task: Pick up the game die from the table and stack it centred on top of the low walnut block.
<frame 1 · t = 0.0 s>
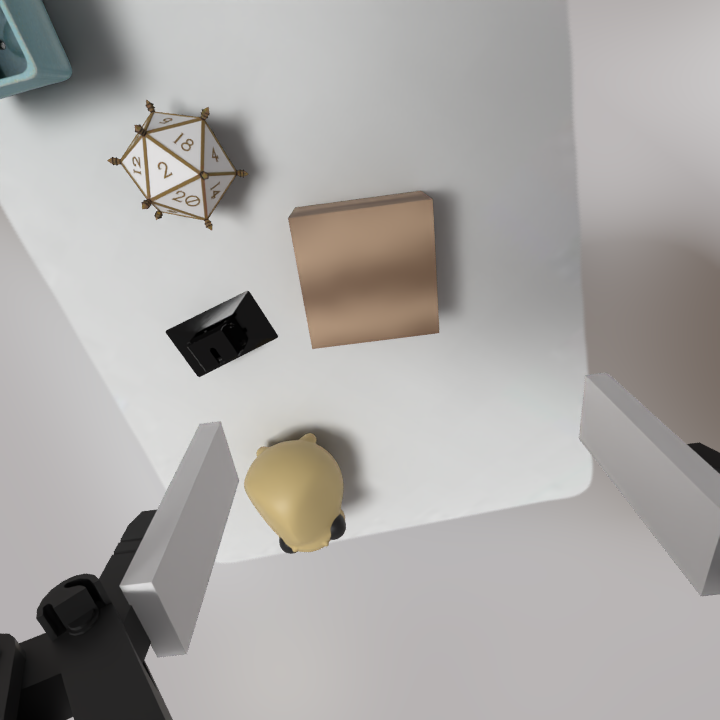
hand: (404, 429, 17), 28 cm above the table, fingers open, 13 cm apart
toy pig: (302, 462, 52), on the table
flower pot: (26, 38, 34), on the table
black angular block: (225, 331, 46), on the table
game die: (196, 164, 38), on the table
walnut block: (365, 260, 42), on the table
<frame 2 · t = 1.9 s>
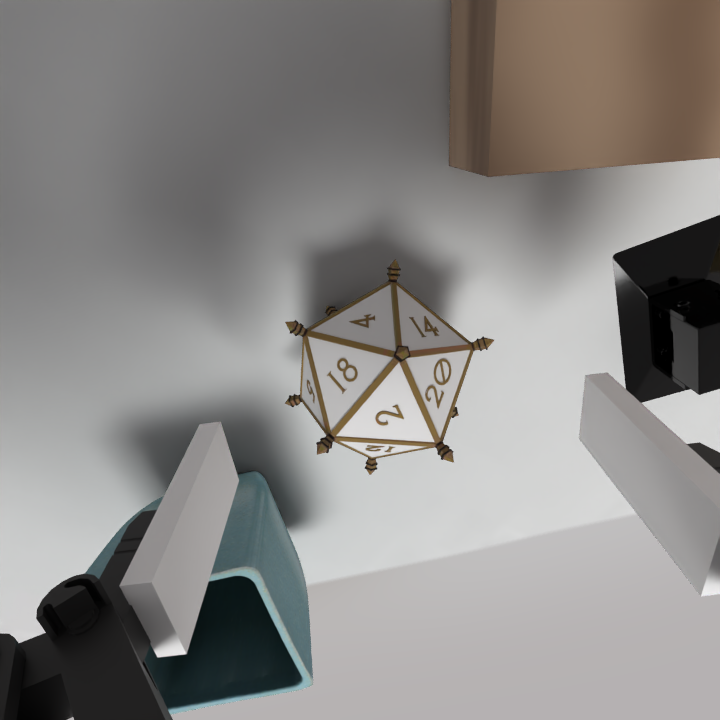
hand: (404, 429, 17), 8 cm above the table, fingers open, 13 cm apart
flower pot: (233, 503, 29), on the table
black angular block: (664, 316, 25), on the table
game die: (374, 336, 24), on the table
walnut block: (587, 3, 18), on the table
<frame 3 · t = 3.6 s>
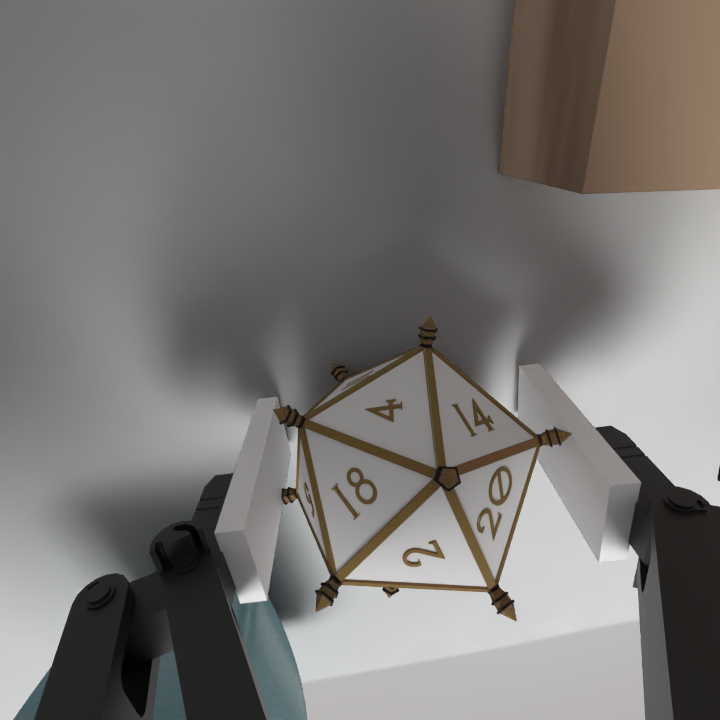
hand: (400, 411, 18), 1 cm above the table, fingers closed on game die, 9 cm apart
flower pot: (218, 593, 23), on the table
game die: (395, 401, 18), on the table, touching gripper
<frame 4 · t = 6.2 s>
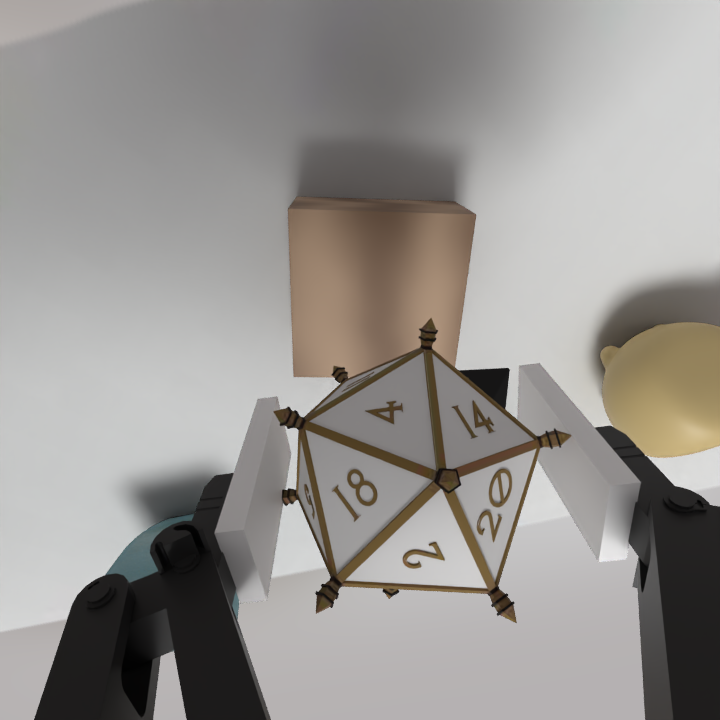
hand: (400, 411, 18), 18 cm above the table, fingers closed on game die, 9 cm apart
toy pig: (648, 356, 38), on the table
flower pot: (198, 529, 45), on the table
black angular block: (470, 415, 41), on the table
game die: (395, 402, 18), point 18 cm above the table, touching gripper
walnut block: (372, 275, 34), on the table
when the fingers open (8 cm above the table, at t = 8.9 s): game die drops 2 cm, point 6 cm above the table.
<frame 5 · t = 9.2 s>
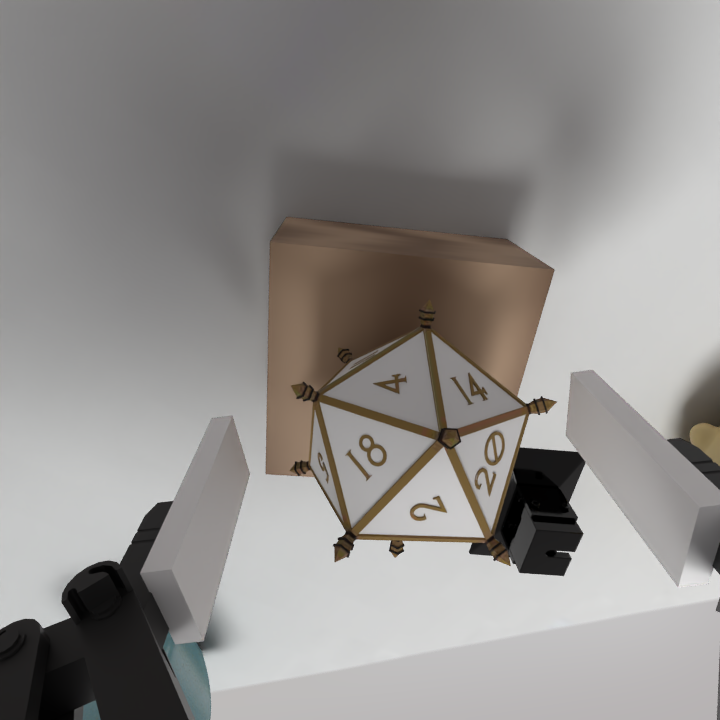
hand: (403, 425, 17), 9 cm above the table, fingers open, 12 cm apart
flower pot: (160, 632, 36), on the table
black angular block: (522, 497, 32), on the table
game die: (395, 381, 20), point 6 cm above the table
walnut block: (384, 329, 25), on the table
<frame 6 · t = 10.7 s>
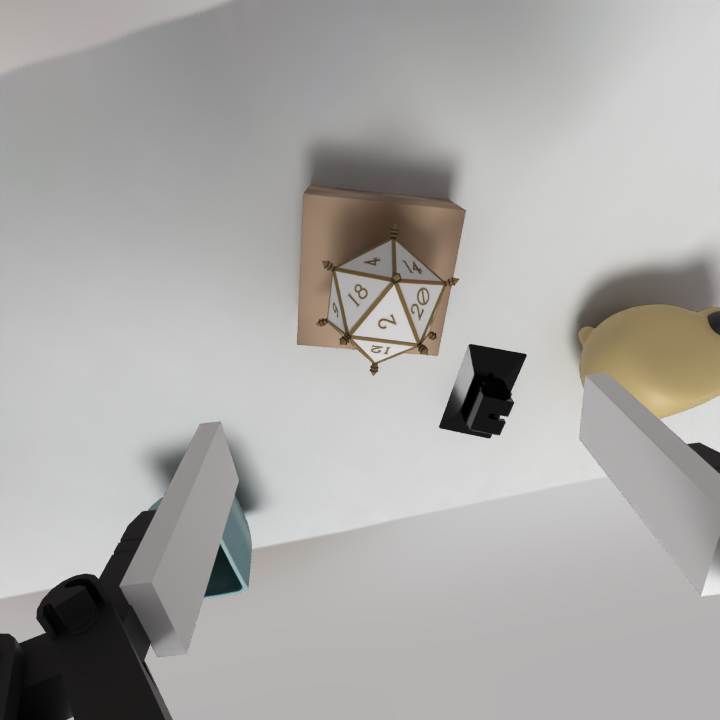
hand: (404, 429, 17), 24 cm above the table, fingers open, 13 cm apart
toy pig: (623, 337, 42), on the table
flower pot: (213, 496, 49), on the table
black angular block: (478, 389, 45), on the table
game die: (379, 284, 33), point 5 cm above the table, touching walnut block
walnut block: (372, 261, 39), on the table, touching game die
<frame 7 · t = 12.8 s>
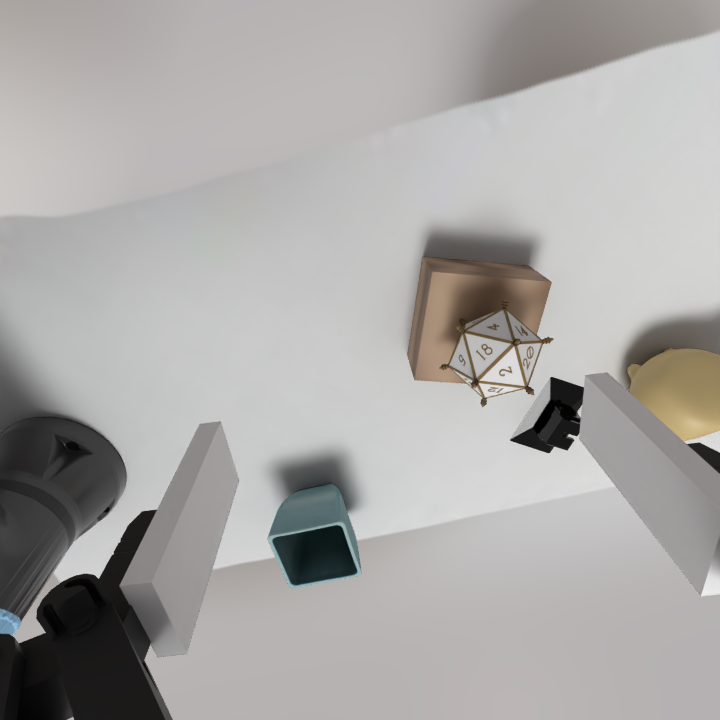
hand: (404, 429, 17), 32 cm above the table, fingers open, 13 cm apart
toy pig: (661, 370, 53), on the table
flower pot: (319, 499, 60), on the table
black angular block: (548, 412, 56), on the table
game die: (481, 335, 44), point 5 cm above the table, touching walnut block
walnut block: (464, 311, 49), on the table, touching game die
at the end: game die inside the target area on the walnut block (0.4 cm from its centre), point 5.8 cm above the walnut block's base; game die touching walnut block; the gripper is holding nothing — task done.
